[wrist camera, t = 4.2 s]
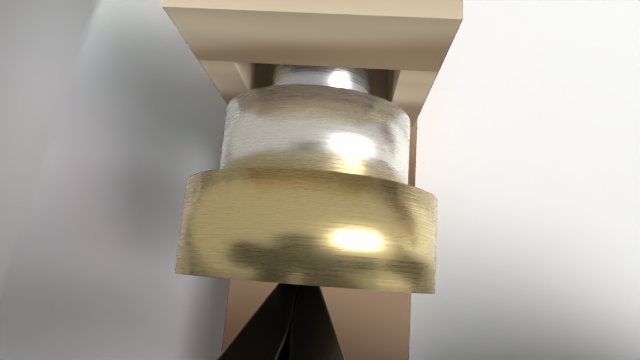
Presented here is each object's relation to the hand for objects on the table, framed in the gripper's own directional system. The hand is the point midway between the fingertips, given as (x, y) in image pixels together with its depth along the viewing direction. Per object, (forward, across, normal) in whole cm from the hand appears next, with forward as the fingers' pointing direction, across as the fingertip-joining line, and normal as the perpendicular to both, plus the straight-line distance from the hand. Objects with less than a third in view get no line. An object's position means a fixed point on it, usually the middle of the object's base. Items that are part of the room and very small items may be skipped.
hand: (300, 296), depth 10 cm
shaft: (+5, 0, -2) cm, 5 cm away
